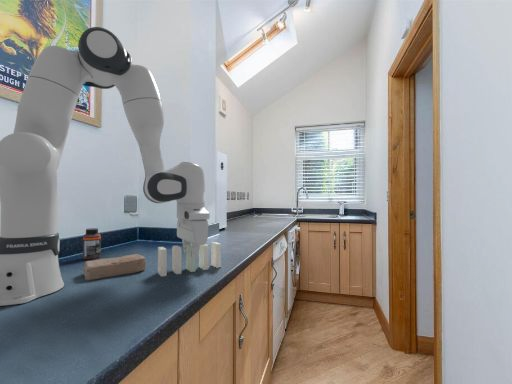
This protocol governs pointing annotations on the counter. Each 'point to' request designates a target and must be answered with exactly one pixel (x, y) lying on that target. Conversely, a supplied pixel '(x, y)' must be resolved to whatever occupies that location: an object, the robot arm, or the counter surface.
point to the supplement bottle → (91, 244)
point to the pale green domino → (189, 259)
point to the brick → (114, 266)
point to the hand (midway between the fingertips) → (190, 254)
